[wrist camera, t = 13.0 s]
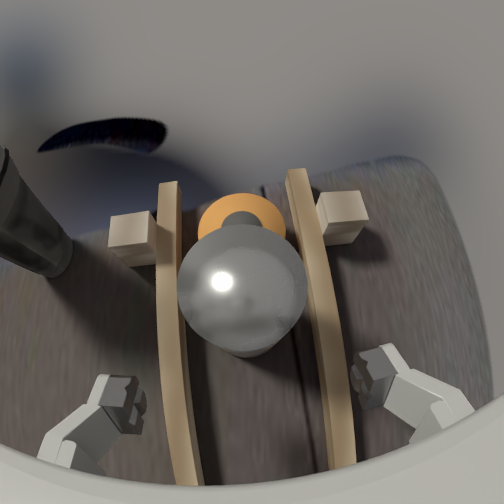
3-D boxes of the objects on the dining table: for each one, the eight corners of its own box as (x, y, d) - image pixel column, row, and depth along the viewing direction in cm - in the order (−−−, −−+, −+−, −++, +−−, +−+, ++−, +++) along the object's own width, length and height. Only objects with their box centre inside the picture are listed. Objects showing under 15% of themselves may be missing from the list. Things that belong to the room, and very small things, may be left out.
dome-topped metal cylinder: (206, 351, 19) (164, 336, 10) (218, 284, 21) (192, 217, 12) (277, 362, 19) (299, 358, 10) (286, 294, 21) (312, 233, 12)
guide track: (152, 504, 14) (135, 525, 10) (134, 201, 24) (117, 175, 20) (385, 478, 15) (407, 494, 11) (333, 180, 25) (344, 151, 21)
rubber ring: (196, 276, 22) (187, 261, 19) (215, 208, 24) (210, 186, 21) (274, 291, 21) (277, 278, 18) (287, 220, 23) (291, 199, 20)
